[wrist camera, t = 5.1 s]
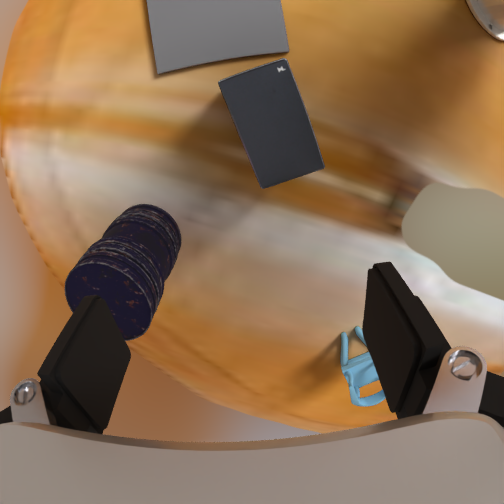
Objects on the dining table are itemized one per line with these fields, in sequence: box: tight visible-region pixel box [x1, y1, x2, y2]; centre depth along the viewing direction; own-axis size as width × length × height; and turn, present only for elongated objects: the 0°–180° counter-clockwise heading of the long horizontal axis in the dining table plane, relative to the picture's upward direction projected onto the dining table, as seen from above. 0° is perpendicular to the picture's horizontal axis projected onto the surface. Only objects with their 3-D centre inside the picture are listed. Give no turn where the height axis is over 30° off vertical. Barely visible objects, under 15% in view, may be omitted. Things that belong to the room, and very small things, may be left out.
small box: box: [218, 58, 325, 189], centre depth 29 cm, size 11×6×10 cm, turn 21°
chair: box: [340, 326, 386, 406], centre depth 45 cm, size 8×8×12 cm
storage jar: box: [65, 204, 181, 341], centre depth 34 cm, size 10×10×15 cm
